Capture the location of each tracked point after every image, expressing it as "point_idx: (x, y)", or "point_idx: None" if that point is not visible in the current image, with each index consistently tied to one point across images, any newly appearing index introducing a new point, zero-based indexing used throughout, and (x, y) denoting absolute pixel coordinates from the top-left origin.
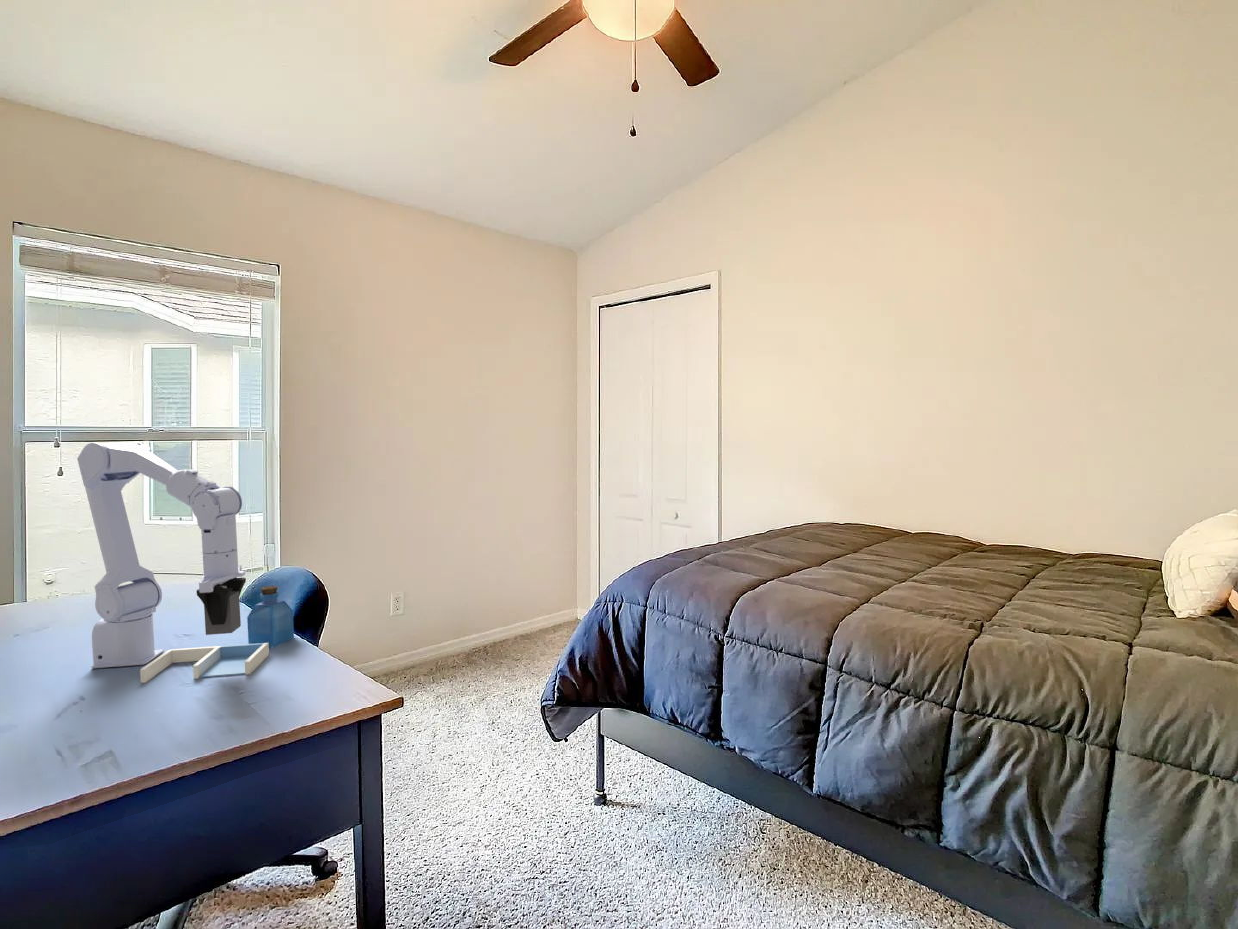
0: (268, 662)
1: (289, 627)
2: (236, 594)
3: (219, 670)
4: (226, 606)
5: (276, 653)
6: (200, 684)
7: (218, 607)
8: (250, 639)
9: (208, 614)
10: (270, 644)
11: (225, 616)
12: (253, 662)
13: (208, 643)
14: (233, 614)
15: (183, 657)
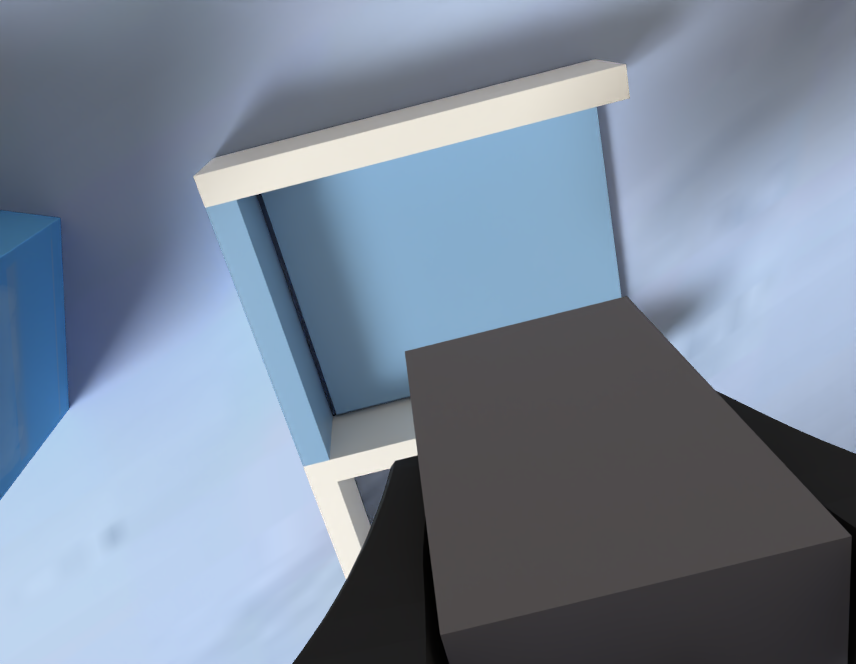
0: (364, 64)
1: None
2: (545, 584)
3: (542, 291)
4: (809, 467)
5: (178, 116)
6: (719, 273)
7: None
8: (51, 415)
9: None
10: (54, 249)
11: (736, 410)
12: (529, 84)
13: (88, 639)
14: (616, 392)
15: None
